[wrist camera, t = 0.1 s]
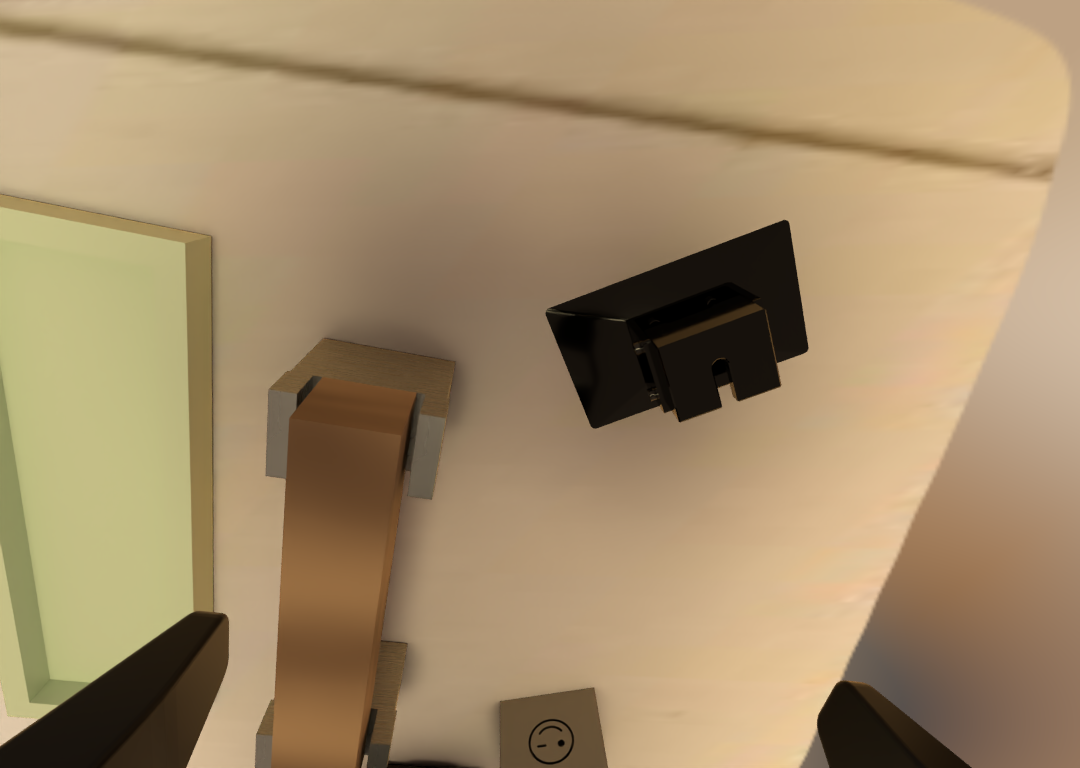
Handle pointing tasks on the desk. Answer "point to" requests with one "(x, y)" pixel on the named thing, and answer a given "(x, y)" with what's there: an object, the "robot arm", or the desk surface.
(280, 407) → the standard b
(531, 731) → the dice cube
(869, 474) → the desk surface
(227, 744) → the desk surface
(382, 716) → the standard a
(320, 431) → the rail
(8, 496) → the tray
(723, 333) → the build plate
